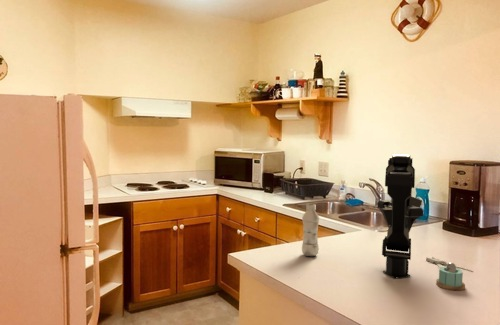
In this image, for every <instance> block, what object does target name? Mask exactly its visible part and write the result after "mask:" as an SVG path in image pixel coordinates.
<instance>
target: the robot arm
mask: <svg viewBox="0 0 500 325" xmlns="http://www.w3.org/2000/svg"><path fill="white" fill-rule="evenodd" d="M415 173H416V169H415V167H414V165H413V157H411V155H410V154H401V153H400V154H397V153H396V154H394V153H392V154H391V156H390V157H389V159H388V162H387V166H386V168H385V178H384V187H386V188H387V190H386V193H387V195H388V196H389V197H390V199H382V200H378V201H377V205H376V206H377V208H378V209H379V211H380V212H381V215H382V217H383V219H384V220H385V223H386V224H387V227H388V228H387V232H386V235H385V236H384V239H382V246H381V250H382V251H381V255H382V256H383V257H384V258H385V259H386V260H385V261H386V262H385V269H383V270H382V273H384V274H386V275H388V276H390V277H391V278H393V279H401V278H402V279H403V278H410V277H412V276H411V274H409V261H411V257H412V253H411V252H412V238H410V232H411V229H412V226H413V225H414V223H415V221H416V220H417V219H420V218H421V217H424V212H425V211H424V209H423V208H422V207H421V206H422V203H423V200H422V199H419V198H416V197H414V196H412V194H413V191H412V190H413V189H415V185H416V184H415V181H416V177H415V176H416V174H415Z"/></svg>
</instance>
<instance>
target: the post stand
mask: <svg viewBox="0 0 500 325" xmlns="http://www.w3.org/2000/svg"><path fill="white" fill-rule="evenodd" d="M447 263H448V264H447V266H446V267H447V270H446V271H448V272H456V266H455V265H456V264H455V263H453V262H447ZM435 282H436V285H437V286H438V287H439V288H442V289H444V290H447V289H448V290H449V291H453V292H457V291H458V292H459V291H464V290H465V289H466V284H465V283H464V282H463V281H462V286H458V287H455V286H454V287H453V286H447V285H444V284H442V283H440V282H439V278H437V279H436V281H435Z"/></svg>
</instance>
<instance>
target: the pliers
mask: <svg viewBox="0 0 500 325" xmlns="http://www.w3.org/2000/svg"><path fill="white" fill-rule="evenodd" d="M428 261H429V262H428ZM425 262H428V263H431V262H432V263H431V264H435V265H436V264H437V265H436V266H437V268H438V267H439V268H440V267H447V264H448V263H449V262H447V261H445V260H443V259H439V258H438V257H435V256H432V257H429V256H427V257H426V258H425ZM434 262H435V263H434ZM455 266H456V268H457V269H460V270H466V271H469V272H470V273H471V272H472V273H473V272H474V270H473V269H470V268H468V267H465V266H462V265H457V264H455ZM439 268H438V269H439Z"/></svg>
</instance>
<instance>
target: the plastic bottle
mask: <svg viewBox="0 0 500 325" xmlns="http://www.w3.org/2000/svg"><path fill="white" fill-rule="evenodd" d="M305 206H306V208H305V210H306V211H305V212H304V214H303V215H302V219H301V220H302V228H303V235H302V236H303V238H302V244H301V252H302V255H304V256H307V257H315V256H318V254H319V249H320V248H319V242H318V229H319V224H320V217H319V214H318V213H317V212H316V210H317V207H316V206H317V205H316V204H314V203H306V205H305Z"/></svg>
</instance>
